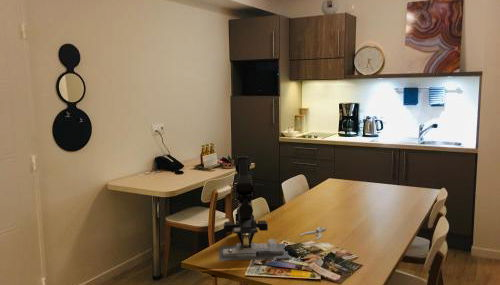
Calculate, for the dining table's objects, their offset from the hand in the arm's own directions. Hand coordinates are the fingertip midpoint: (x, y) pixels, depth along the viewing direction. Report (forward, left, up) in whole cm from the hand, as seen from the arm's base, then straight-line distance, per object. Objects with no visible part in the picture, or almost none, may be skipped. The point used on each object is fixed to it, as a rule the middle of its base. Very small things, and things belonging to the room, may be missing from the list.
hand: (246, 245), depth 177 cm
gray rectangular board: (-2, +3, -5) cm, 6 cm away
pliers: (-23, +35, -5) cm, 43 cm away
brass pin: (0, 0, -2) cm, 2 cm away
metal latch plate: (0, +4, -2) cm, 5 cm away
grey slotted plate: (0, +3, -4) cm, 5 cm away
